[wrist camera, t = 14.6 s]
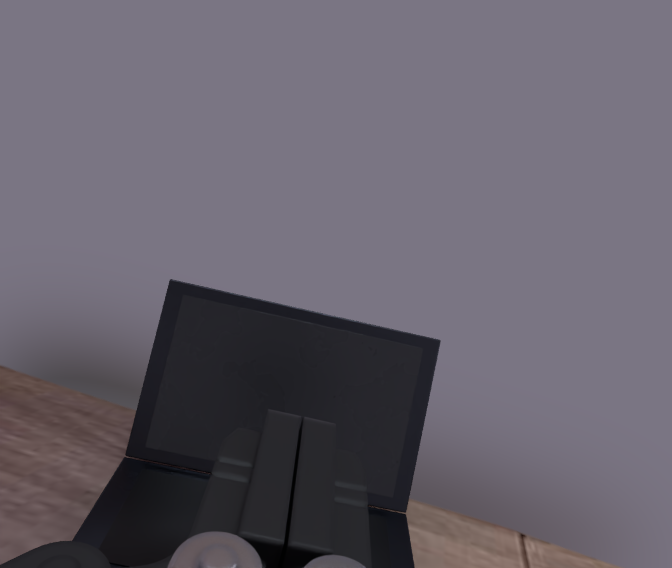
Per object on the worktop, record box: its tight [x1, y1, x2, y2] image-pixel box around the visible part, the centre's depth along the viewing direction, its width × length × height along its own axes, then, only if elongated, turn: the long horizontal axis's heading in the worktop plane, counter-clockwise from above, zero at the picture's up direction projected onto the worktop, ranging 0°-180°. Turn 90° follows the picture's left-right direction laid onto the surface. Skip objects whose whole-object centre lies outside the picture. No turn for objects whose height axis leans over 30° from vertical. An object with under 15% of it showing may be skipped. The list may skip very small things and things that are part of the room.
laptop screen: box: [125, 279, 440, 513], centre depth 31 cm, size 10×16×1 cm
